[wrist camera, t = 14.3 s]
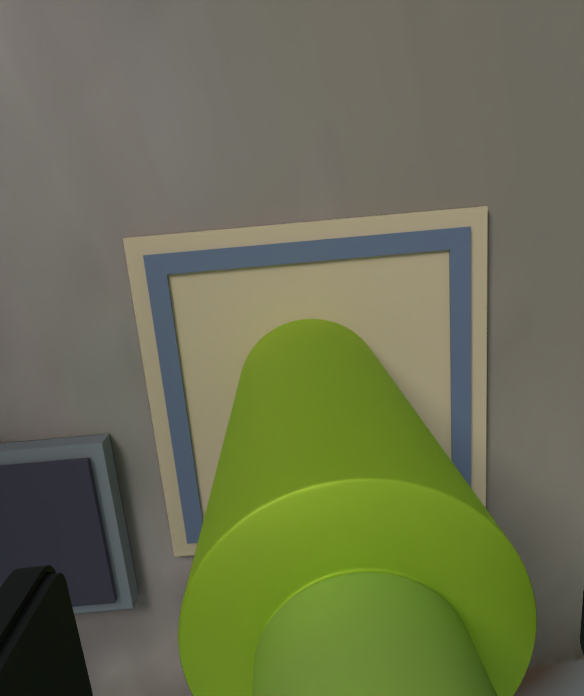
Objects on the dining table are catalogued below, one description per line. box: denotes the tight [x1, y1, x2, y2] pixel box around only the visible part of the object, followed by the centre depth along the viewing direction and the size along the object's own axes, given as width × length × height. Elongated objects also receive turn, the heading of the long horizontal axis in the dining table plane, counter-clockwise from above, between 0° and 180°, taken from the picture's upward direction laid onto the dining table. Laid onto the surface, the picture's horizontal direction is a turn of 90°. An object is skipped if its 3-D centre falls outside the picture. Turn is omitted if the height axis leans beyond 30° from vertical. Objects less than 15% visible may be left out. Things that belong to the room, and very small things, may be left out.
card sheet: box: [123, 206, 488, 557], centre depth 21 cm, size 14×14×1 cm
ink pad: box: [0, 434, 139, 614], centre depth 22 cm, size 8×10×1 cm
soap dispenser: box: [178, 319, 537, 696], centre depth 11 cm, size 6×7×20 cm
